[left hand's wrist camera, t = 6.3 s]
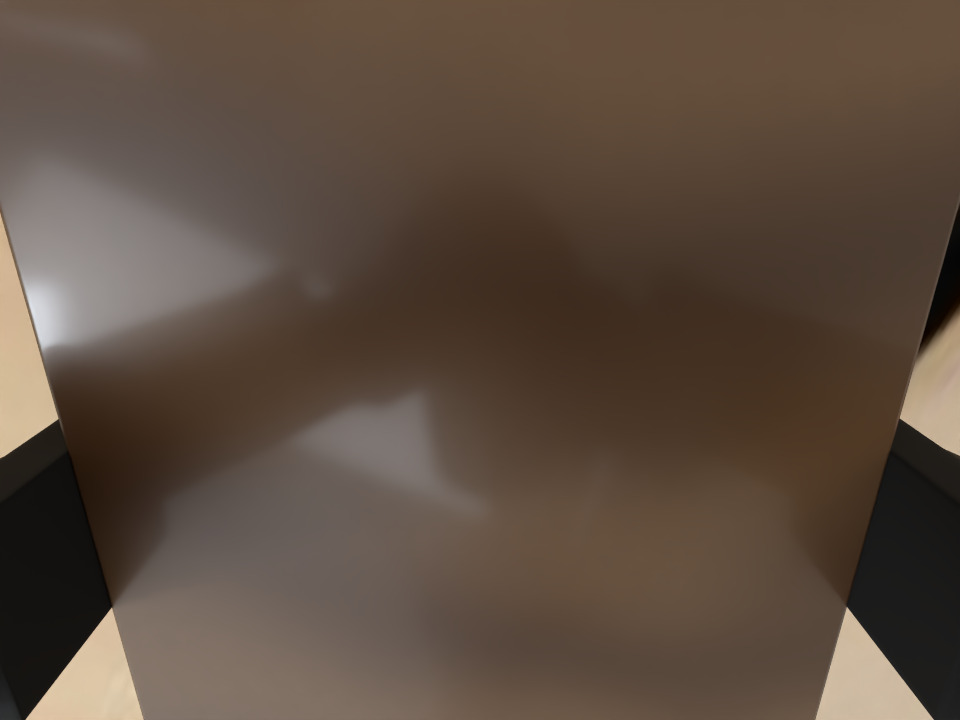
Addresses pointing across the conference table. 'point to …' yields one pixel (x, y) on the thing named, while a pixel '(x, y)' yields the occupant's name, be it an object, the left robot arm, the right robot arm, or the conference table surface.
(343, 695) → the cabinet
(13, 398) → the conference table surface
